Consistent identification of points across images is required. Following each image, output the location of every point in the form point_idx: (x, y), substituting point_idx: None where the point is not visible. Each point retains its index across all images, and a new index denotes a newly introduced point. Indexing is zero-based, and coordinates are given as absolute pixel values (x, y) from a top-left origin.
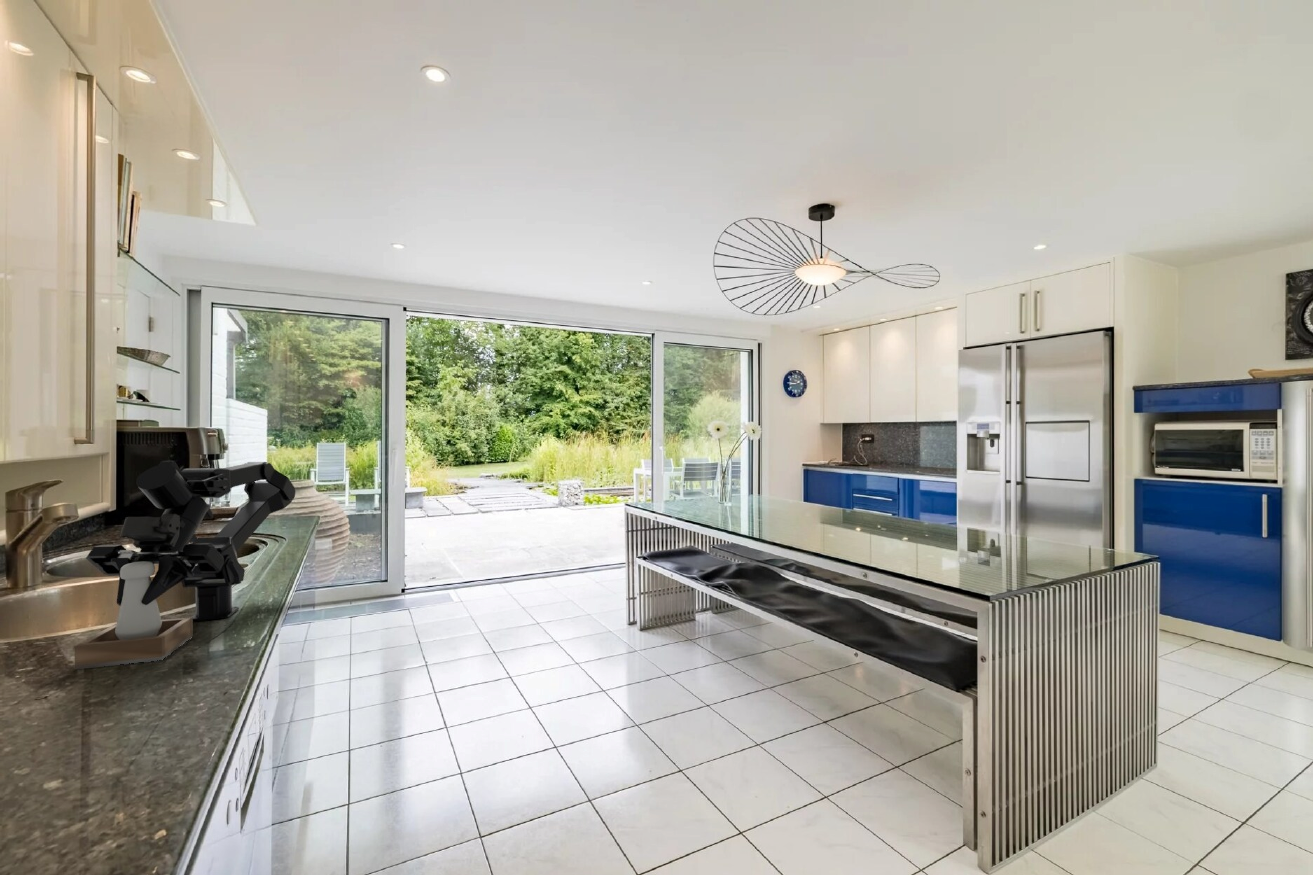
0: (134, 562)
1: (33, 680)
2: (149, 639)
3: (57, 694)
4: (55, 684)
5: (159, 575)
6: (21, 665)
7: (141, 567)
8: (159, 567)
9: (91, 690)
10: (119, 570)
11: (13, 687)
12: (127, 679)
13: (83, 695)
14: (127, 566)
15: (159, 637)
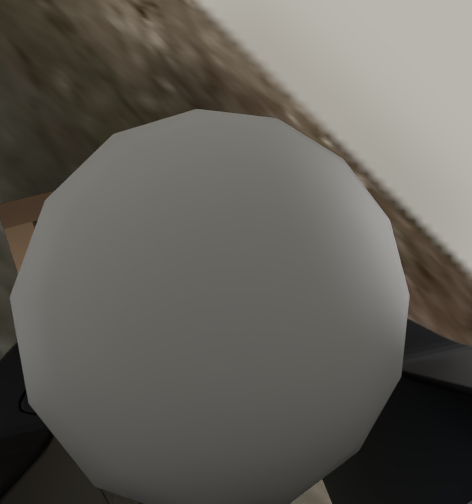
0: (338, 328)
1: (268, 113)
2: (41, 194)
3: (128, 22)
4: (192, 82)
5: (15, 383)
6: (384, 205)
7: (69, 183)
8: (7, 468)
9: (60, 31)
10: (465, 345)
11: (271, 78)
12: (19, 90)
13: (52, 4)
14: (263, 134)
15: (11, 210)
